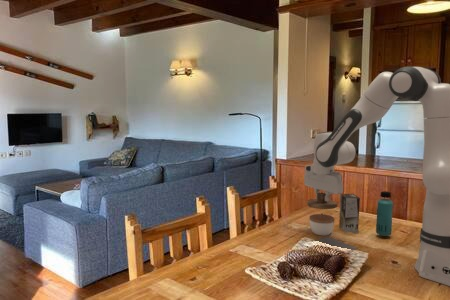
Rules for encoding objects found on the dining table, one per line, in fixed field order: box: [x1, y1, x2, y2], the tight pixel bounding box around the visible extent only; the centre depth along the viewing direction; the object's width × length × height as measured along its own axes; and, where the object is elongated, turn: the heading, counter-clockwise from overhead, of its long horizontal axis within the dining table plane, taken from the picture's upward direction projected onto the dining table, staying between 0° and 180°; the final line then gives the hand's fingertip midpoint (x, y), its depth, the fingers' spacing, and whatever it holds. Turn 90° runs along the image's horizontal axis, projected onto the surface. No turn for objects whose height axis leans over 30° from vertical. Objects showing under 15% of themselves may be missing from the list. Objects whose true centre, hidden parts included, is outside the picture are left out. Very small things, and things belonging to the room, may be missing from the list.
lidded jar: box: [308, 213, 335, 237], centre depth 168 cm, size 11×11×9 cm
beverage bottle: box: [375, 190, 394, 237], centre depth 165 cm, size 6×7×20 cm
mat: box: [306, 236, 359, 251], centre depth 153 cm, size 16×16×1 cm
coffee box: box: [338, 193, 361, 234], centre depth 174 cm, size 9×6×16 cm
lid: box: [306, 191, 338, 210], centre depth 167 cm, size 13×13×5 cm
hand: (322, 200), depth 167 cm, fingers closed on lid, 3 cm apart
